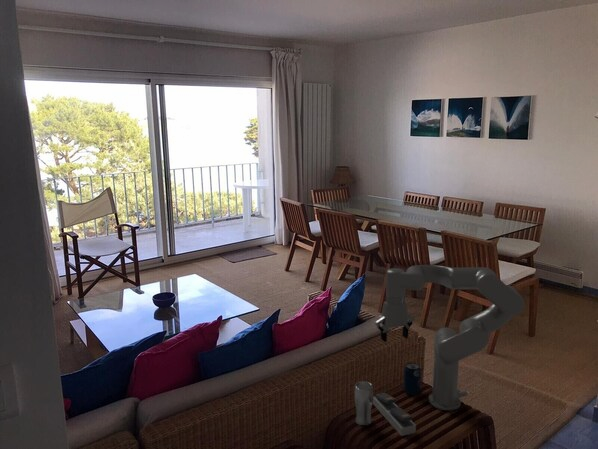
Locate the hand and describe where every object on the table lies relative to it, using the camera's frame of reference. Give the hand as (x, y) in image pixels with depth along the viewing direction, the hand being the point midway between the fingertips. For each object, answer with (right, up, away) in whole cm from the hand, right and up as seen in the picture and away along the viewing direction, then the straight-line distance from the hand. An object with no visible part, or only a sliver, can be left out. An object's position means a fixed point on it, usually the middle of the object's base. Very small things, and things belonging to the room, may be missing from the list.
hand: (394, 339), depth 196 cm
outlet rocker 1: (-4, -23, -4) cm, 23 cm away
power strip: (-2, -28, -9) cm, 30 cm away
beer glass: (-14, -29, -11) cm, 34 cm away
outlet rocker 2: (-1, -25, -16) cm, 29 cm away
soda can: (+9, -25, +10) cm, 28 cm away
